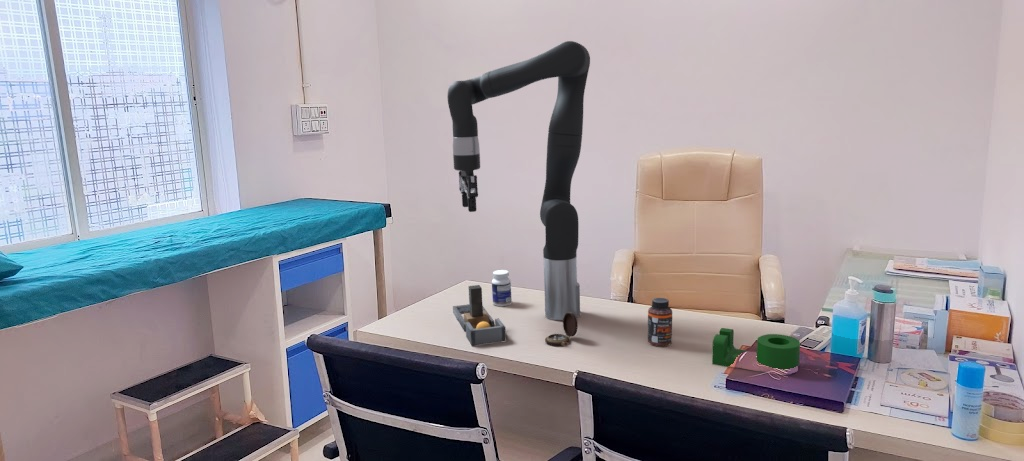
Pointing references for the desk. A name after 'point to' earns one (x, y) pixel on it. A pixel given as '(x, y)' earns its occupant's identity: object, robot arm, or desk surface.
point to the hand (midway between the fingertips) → (469, 209)
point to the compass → (569, 328)
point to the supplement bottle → (660, 323)
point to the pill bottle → (501, 288)
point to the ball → (483, 325)
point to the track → (466, 308)
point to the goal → (486, 334)
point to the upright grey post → (476, 307)
